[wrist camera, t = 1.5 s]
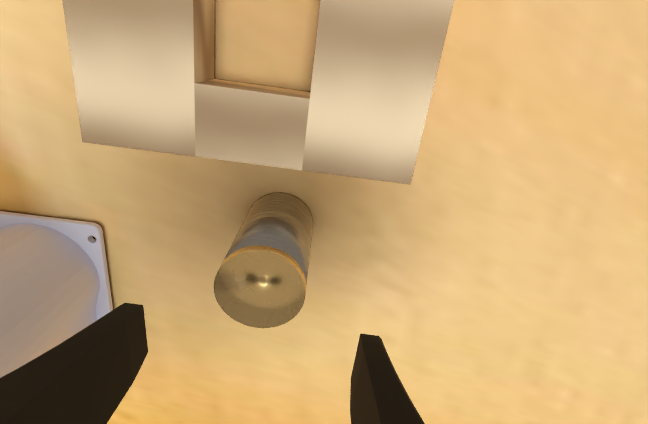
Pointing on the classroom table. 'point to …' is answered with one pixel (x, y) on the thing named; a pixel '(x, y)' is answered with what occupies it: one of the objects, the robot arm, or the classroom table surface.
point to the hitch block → (260, 86)
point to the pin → (267, 263)
